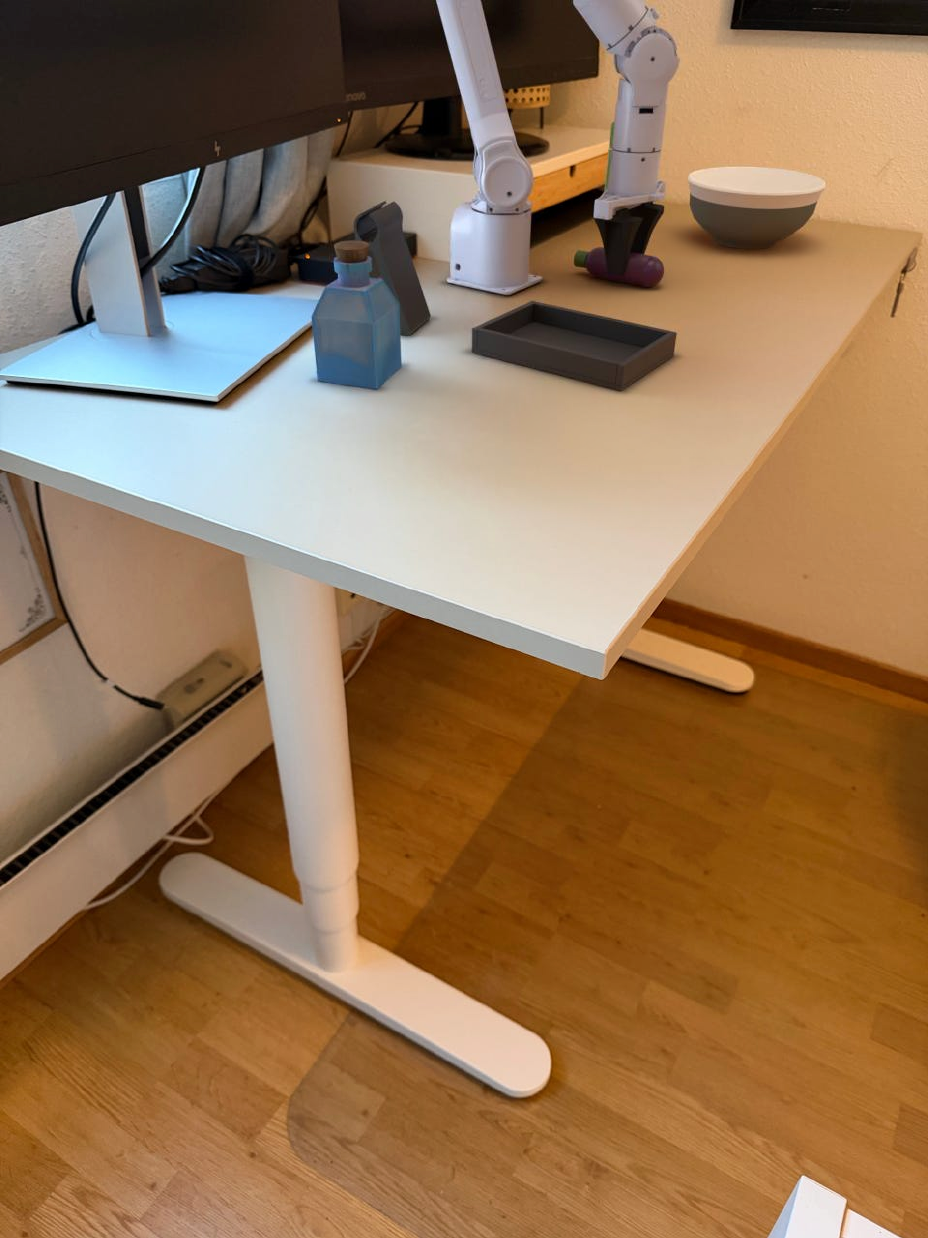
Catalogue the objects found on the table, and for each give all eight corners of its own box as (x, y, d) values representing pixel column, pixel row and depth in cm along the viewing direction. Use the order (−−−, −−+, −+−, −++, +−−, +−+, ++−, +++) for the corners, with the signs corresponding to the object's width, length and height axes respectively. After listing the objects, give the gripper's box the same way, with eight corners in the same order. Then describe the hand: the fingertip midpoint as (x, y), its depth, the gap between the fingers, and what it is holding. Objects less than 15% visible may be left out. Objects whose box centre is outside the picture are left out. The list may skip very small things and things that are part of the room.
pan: (471, 352, 92) (471, 328, 91) (530, 323, 100) (531, 300, 98) (621, 391, 84) (623, 365, 83) (673, 356, 92) (677, 332, 90)
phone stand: (431, 319, 101) (429, 204, 94) (410, 335, 96) (406, 216, 89) (359, 310, 103) (351, 197, 96) (335, 326, 99) (325, 209, 92)
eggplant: (569, 275, 115) (571, 246, 113) (583, 269, 117) (585, 240, 115) (654, 292, 109) (658, 261, 107) (667, 285, 111) (671, 255, 109)
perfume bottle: (401, 366, 89) (396, 239, 82) (376, 389, 84) (369, 256, 77) (345, 358, 91) (335, 233, 84) (317, 380, 86) (304, 250, 79)
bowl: (830, 258, 121) (845, 192, 116) (692, 257, 122) (702, 191, 117) (791, 225, 136) (803, 166, 132) (669, 224, 137) (676, 165, 132)
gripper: (638, 161, 97) (624, 289, 105) (694, 143, 107) (678, 262, 115) (582, 154, 100) (573, 279, 109) (641, 138, 110) (628, 253, 118)
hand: (623, 270), depth 112 cm, fingers closed on eggplant, 3 cm apart
